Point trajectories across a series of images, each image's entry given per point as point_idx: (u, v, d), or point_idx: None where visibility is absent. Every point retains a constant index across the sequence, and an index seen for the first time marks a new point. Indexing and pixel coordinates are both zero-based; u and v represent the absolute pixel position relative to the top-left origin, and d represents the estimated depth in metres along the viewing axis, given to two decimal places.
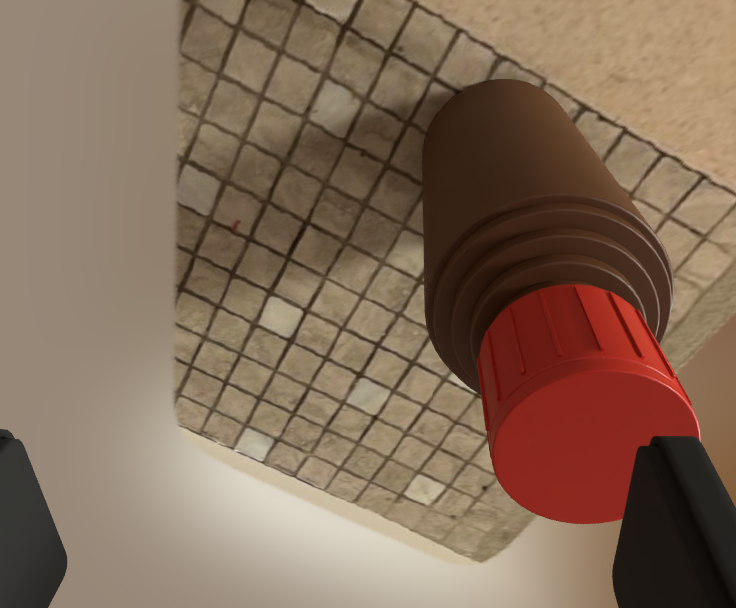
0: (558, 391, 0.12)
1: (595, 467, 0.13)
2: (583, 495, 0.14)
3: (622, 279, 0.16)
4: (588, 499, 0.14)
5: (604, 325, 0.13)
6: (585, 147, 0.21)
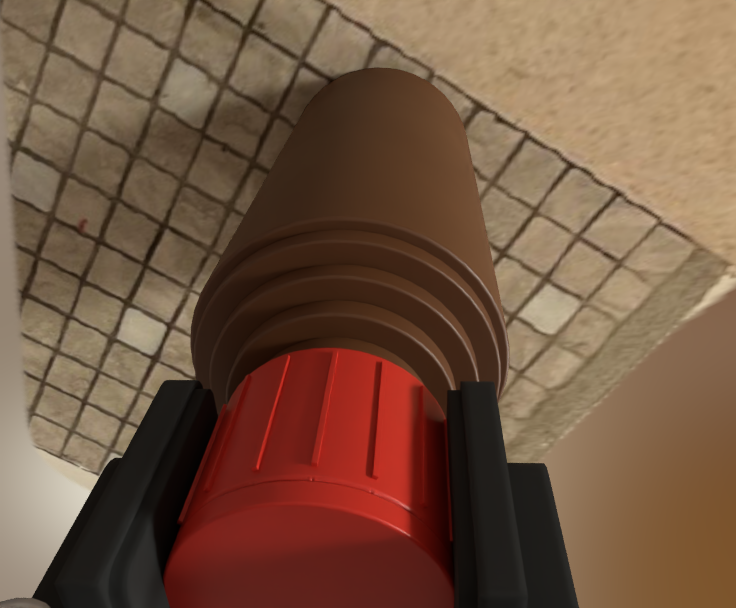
0: (236, 528, 0.08)
1: None
2: None
3: (417, 339, 0.11)
4: None
5: (342, 419, 0.09)
6: (438, 154, 0.17)
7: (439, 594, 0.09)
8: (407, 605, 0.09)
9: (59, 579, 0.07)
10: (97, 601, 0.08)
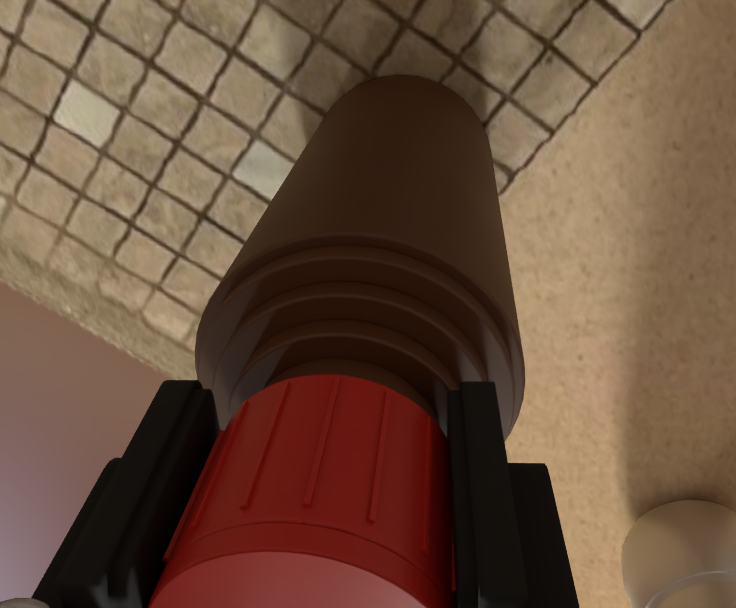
0: (221, 573, 0.08)
1: None
2: None
3: None
4: None
5: (341, 455, 0.09)
6: None
7: None
8: None
9: (59, 579, 0.07)
10: (97, 601, 0.08)
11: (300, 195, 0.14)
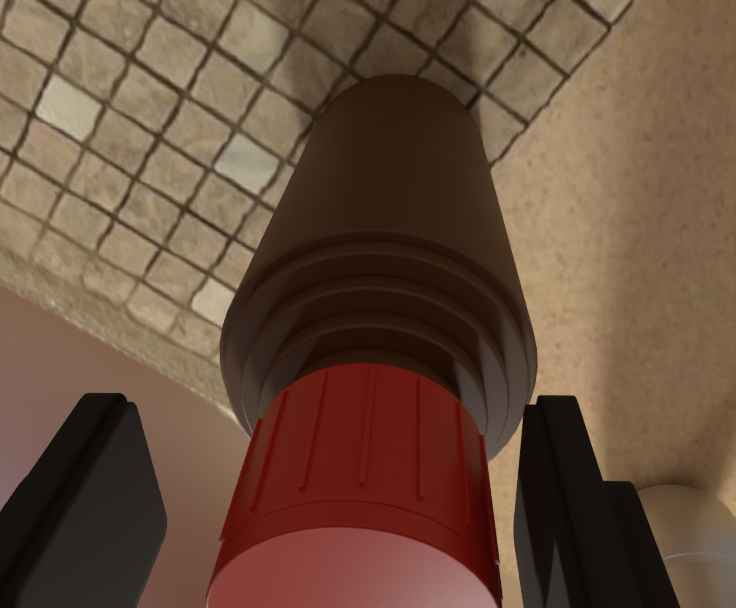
0: (284, 549, 0.08)
1: None
2: None
3: None
4: None
5: (386, 437, 0.09)
6: None
7: None
8: None
9: None
10: None
11: (316, 193, 0.14)
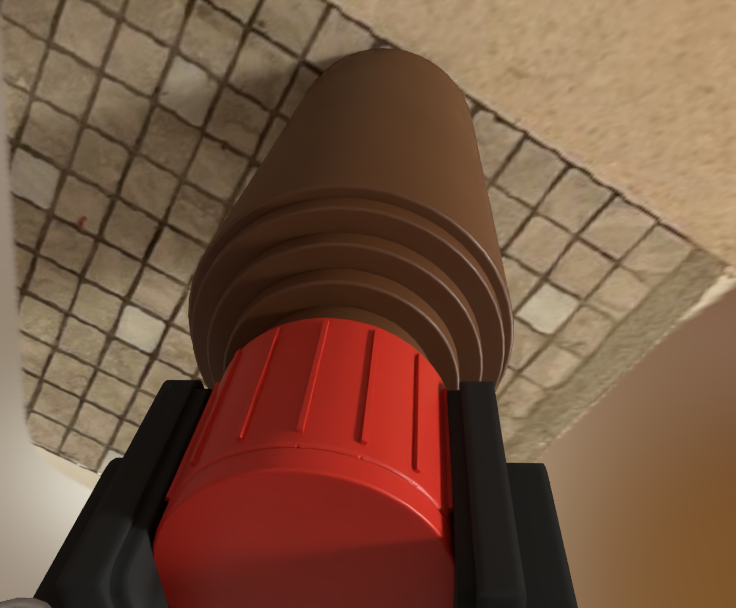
0: None
1: (332, 582, 0.08)
2: (393, 592, 0.08)
3: (420, 309, 0.11)
4: (401, 586, 0.08)
5: None
6: (443, 130, 0.16)
7: (247, 488, 0.08)
8: (276, 511, 0.08)
9: (61, 579, 0.07)
10: (98, 601, 0.08)
11: None
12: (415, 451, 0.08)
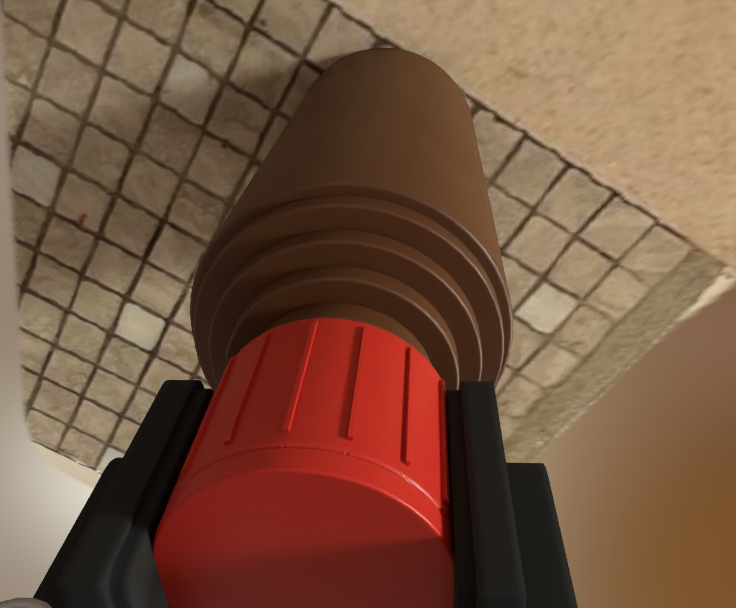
0: None
1: (293, 565, 0.08)
2: (293, 522, 0.08)
3: (420, 306, 0.11)
4: (282, 516, 0.08)
5: None
6: (444, 130, 0.17)
7: None
8: (211, 596, 0.09)
9: (60, 579, 0.07)
10: (98, 601, 0.08)
11: None
12: (189, 455, 0.09)
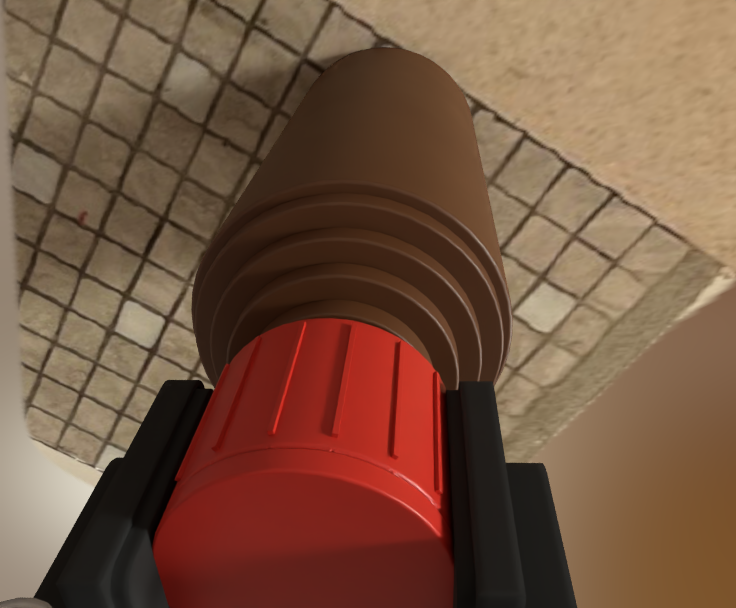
0: (406, 529, 0.08)
1: (277, 591, 0.09)
2: (218, 589, 0.09)
3: (421, 304, 0.11)
4: (213, 595, 0.09)
5: None
6: (444, 129, 0.17)
7: None
8: None
9: (61, 579, 0.08)
10: (99, 600, 0.08)
11: None
12: None
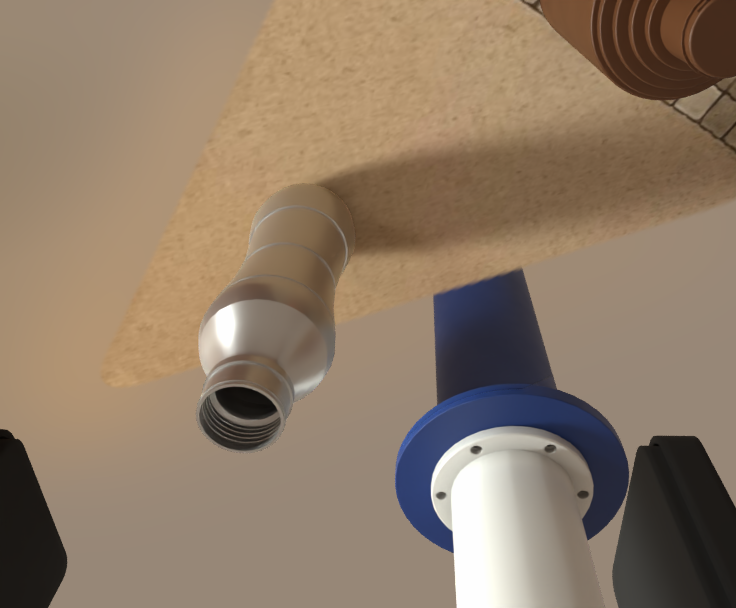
0: None
1: None
2: None
3: (644, 65, 0.25)
4: None
5: None
6: None
7: None
8: None
9: None
10: None
11: None
12: None
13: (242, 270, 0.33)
